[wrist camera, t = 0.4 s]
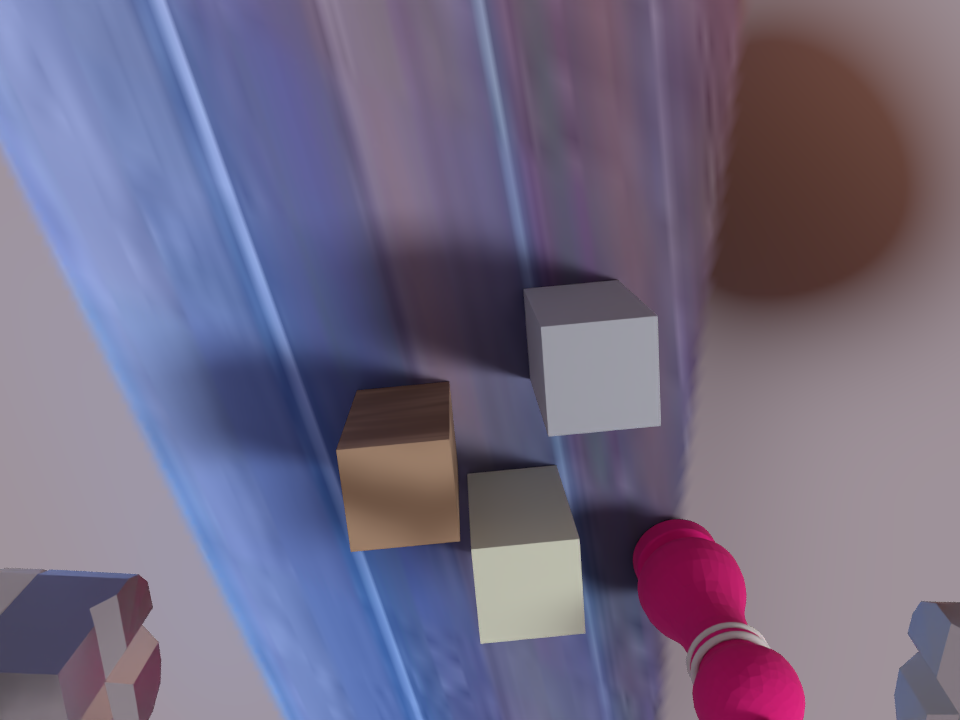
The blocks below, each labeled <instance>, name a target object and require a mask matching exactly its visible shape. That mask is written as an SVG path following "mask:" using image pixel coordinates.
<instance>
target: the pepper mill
mask: <svg viewBox="0 0 960 720" xmlns="http://www.w3.org/2000/svg"><path fill="white" fill-rule="evenodd" d="M633 567H634V570H635V573H636V576H637V578H638V596H639V600H640V603H641V606H642V608H643V610H644V611H645V613H646V615H647V617H648V618H649V620H650V622H651V623H652V624H653V625H654V626H655V627H656V628H657V629H658V630H659V631H660V632H661V633H663V634H664V635H665V636H667V637H668V638H670V639H672V640H674V641H676V642H678V643H680V644H681V645H682V646H683V647H684V649H685V650H686V652H687V658H686V665H687V671H688V673H689V676H690V677H691V680H692V683H693V701H694V708H695V710H696V713H697V716H698V718H699V720H803V717H804V709H805V696H804V692H803V688H802V685H801V683H800V681H799V678H798V676H797V674H796V672H795V670H794V669H793V668H792V666H791V665H790V664H789V662H787V661H786V660H785V658H784V657H783V656H781V655H780V654H779V653H777V652H776V651H774V650H772V649H771V648H770V647H769V645H768V644H767V642H766V640H765V639H764V637H763V636H762V634H760V633H759V632H758V631H757V630H756V629H754V628H753V627H751V626H748V625H747V622H746V620H745V615H744V611H745V605H746V588H745V582H744V578H743V576H742V573H741V571H740V568H739V566H738V565H737V563H736V561H735V559H734V558H733V557H732V555H731V554H730V553H729V552H728V551H727V550H726V549H724V548H723V547H722V546H721V545H719V544H717V543H715V541H714V540H713V538H712V536H711V535H710V534H709V532H708V531H707V530H705V528H703V527H702V526H700V525H699V524H697V523H695V522H692V521H688V520H683V519H673V520H667V521H664V522H661V523H659V524H656V525H654V526H653V527H651V528H650V529H649V530H647V531H646V532H645V533H644V534H643V535H642V537H641V538H640V539H639V541H638V543H637V545H636V547H635V550H634V553H633Z"/></svg>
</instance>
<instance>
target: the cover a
mask: <svg viewBox="0 0 960 720" xmlns="http://www.w3.org/2000/svg"><path fill="white" fill-rule="evenodd" d="M336 453H337V460H338V466H339V473H340V480H341V487H342V494H343V501H344V507H345V514H346V521H347V528H348V535H349V542H350V549H351V552H355V551H365V550H375V549H386V548H396V547H406V546H416V545H427V544H437V543H447V542H458V541H460V521H459V484H458V462H457V452H456V442H455V433H454V423H453V413H452V404H451V394H450V384H449V382H439V383H429V384H418V385H407V386H397V387H386V388H376V389H365V390H357V392H356V395H355V397H354V400H353V403H352V406H351V409H350V412H349V415H348V418H347V420H346V423H345V426H344V429H343V432H342V435H341V438H340V441H339V443H338V446H337V449H336Z"/></svg>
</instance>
